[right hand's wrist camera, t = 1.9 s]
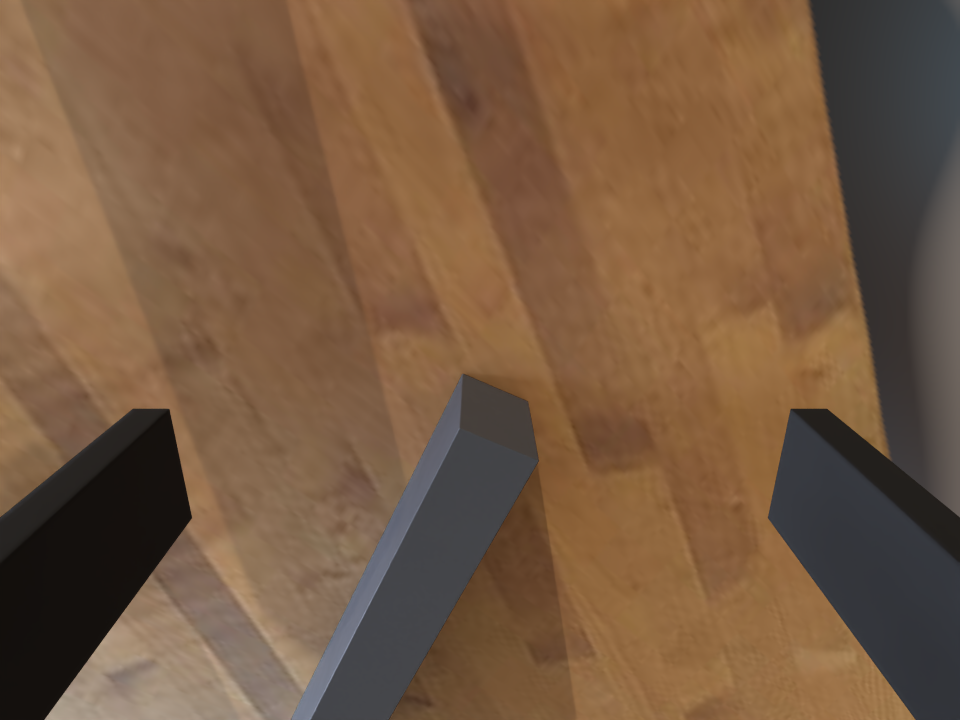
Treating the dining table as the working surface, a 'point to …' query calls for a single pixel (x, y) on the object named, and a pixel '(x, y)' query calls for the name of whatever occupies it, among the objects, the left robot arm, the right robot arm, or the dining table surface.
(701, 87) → the dining table surface
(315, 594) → the dining table surface
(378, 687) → the bar
